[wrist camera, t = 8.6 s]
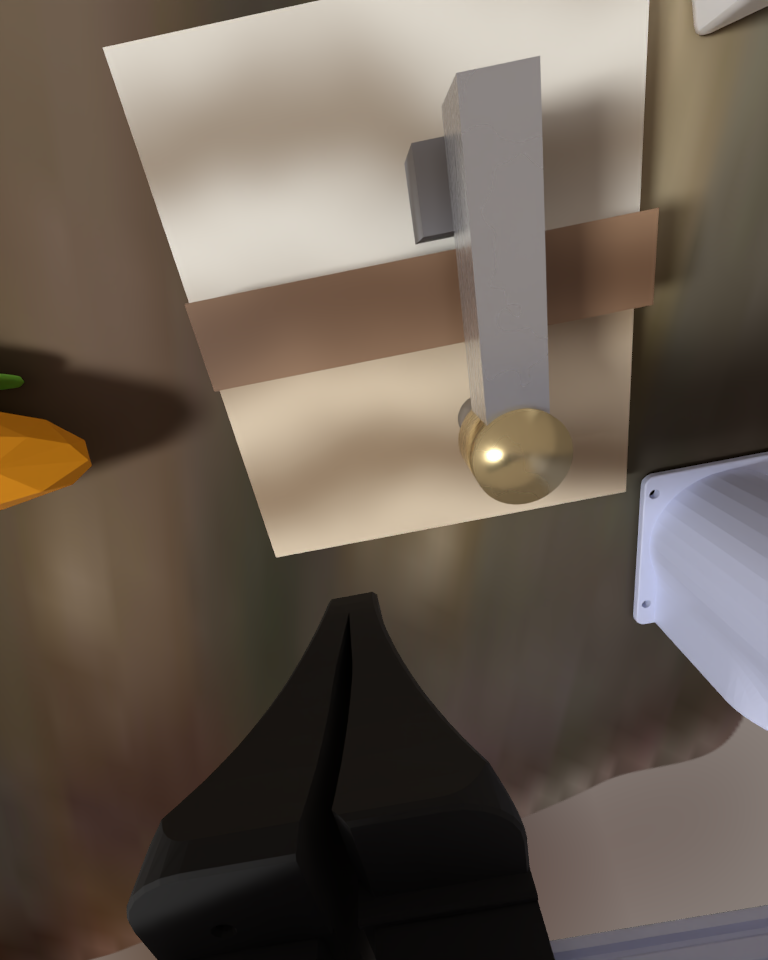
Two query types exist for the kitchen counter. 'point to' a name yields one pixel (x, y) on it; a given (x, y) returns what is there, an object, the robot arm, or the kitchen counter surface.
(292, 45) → the brown-striped cream panel
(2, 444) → the corn
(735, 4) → the container
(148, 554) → the kitchen counter surface
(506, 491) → the bar
